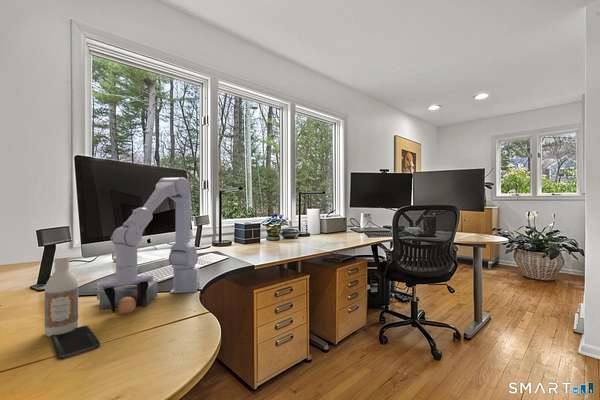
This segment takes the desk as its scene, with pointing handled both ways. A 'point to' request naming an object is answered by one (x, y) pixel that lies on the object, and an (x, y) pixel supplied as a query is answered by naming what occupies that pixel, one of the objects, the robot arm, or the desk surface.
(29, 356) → the desk surface
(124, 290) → the grey box with opening
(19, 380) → the desk surface
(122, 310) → the bead
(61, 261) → the bath foam
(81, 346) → the phone
